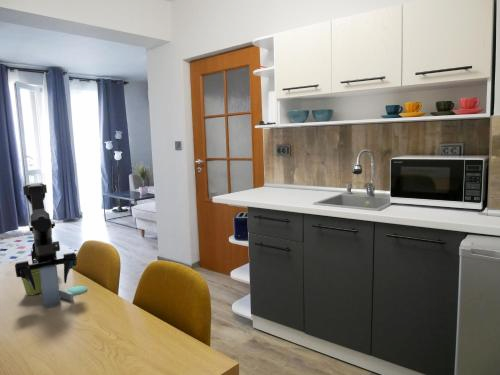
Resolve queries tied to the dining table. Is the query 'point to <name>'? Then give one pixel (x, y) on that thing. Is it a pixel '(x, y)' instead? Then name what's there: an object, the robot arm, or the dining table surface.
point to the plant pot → (37, 282)
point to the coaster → (77, 290)
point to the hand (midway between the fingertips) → (50, 286)
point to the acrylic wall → (66, 295)
